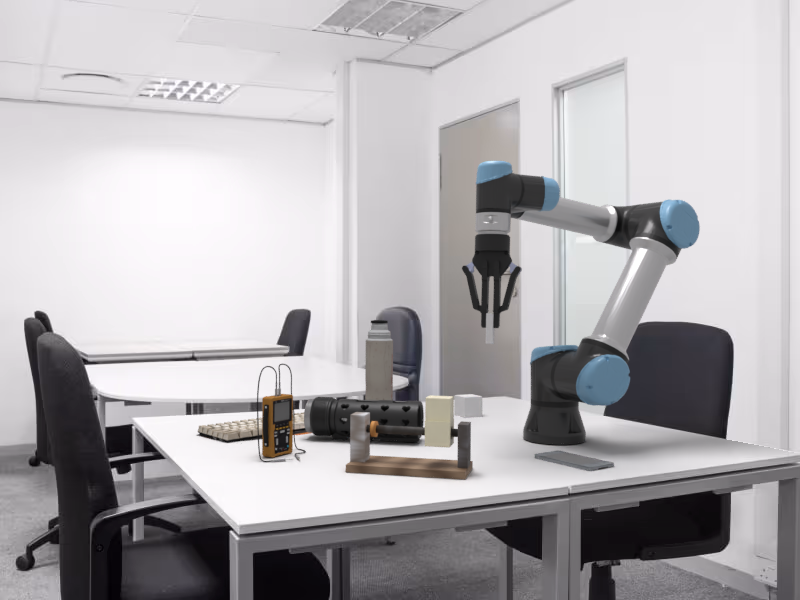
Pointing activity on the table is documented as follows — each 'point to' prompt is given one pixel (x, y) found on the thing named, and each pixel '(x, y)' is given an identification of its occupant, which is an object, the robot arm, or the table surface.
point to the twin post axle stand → (405, 465)
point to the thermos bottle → (379, 362)
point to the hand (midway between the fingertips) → (489, 343)
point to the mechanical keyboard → (244, 429)
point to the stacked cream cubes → (439, 421)
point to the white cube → (468, 405)
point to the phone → (574, 460)
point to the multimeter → (277, 423)
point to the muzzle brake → (335, 415)
